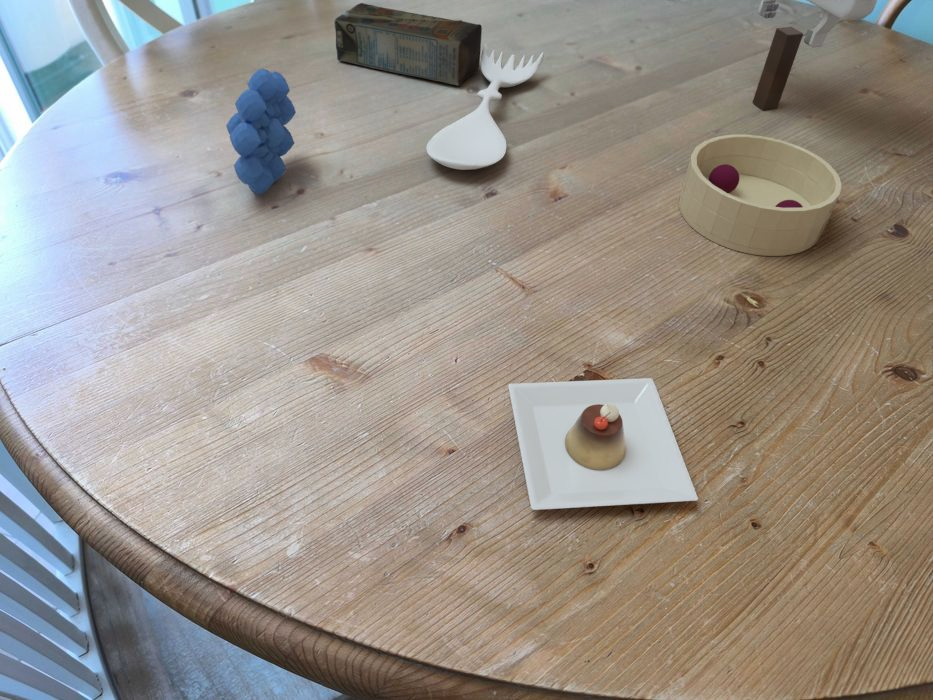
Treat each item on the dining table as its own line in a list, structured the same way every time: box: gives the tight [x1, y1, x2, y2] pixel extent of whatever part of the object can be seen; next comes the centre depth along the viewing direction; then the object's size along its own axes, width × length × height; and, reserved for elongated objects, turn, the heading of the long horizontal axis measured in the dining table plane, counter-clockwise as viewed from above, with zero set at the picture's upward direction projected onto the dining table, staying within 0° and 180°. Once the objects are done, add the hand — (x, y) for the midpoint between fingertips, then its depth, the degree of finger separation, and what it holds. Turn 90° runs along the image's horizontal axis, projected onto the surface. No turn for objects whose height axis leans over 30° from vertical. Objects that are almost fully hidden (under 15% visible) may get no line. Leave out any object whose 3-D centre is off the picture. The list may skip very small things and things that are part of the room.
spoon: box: [426, 43, 545, 171], centre depth 94 cm, size 9×32×4 cm, turn 166°
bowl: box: [678, 133, 843, 257], centre depth 80 cm, size 15×15×6 cm
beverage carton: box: [333, 2, 483, 87], centre depth 103 cm, size 8×19×7 cm, turn 68°
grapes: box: [225, 67, 297, 195], centre depth 78 cm, size 12×7×12 cm, turn 166°
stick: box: [752, 26, 804, 111], centre depth 98 cm, size 2×2×10 cm
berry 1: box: [709, 164, 739, 193], centre depth 82 cm, size 3×3×3 cm
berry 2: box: [775, 200, 803, 208], centre depth 78 cm, size 3×3×3 cm
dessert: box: [507, 377, 699, 511], centre depth 56 cm, size 12×12×5 cm
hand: (788, 30), depth 94 cm, fingers open, 8 cm apart
